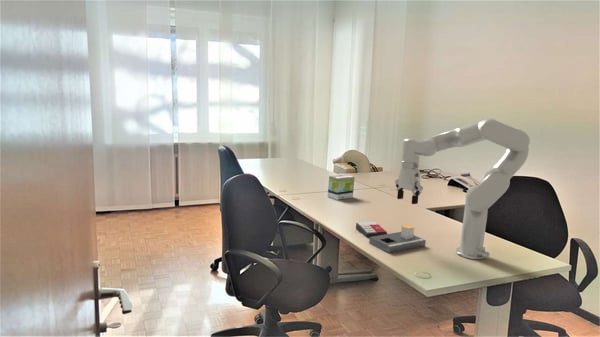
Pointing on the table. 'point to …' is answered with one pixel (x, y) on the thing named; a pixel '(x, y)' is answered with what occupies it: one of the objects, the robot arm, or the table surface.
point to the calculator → (370, 229)
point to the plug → (407, 232)
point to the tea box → (341, 186)
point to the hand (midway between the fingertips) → (407, 201)
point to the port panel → (396, 242)
